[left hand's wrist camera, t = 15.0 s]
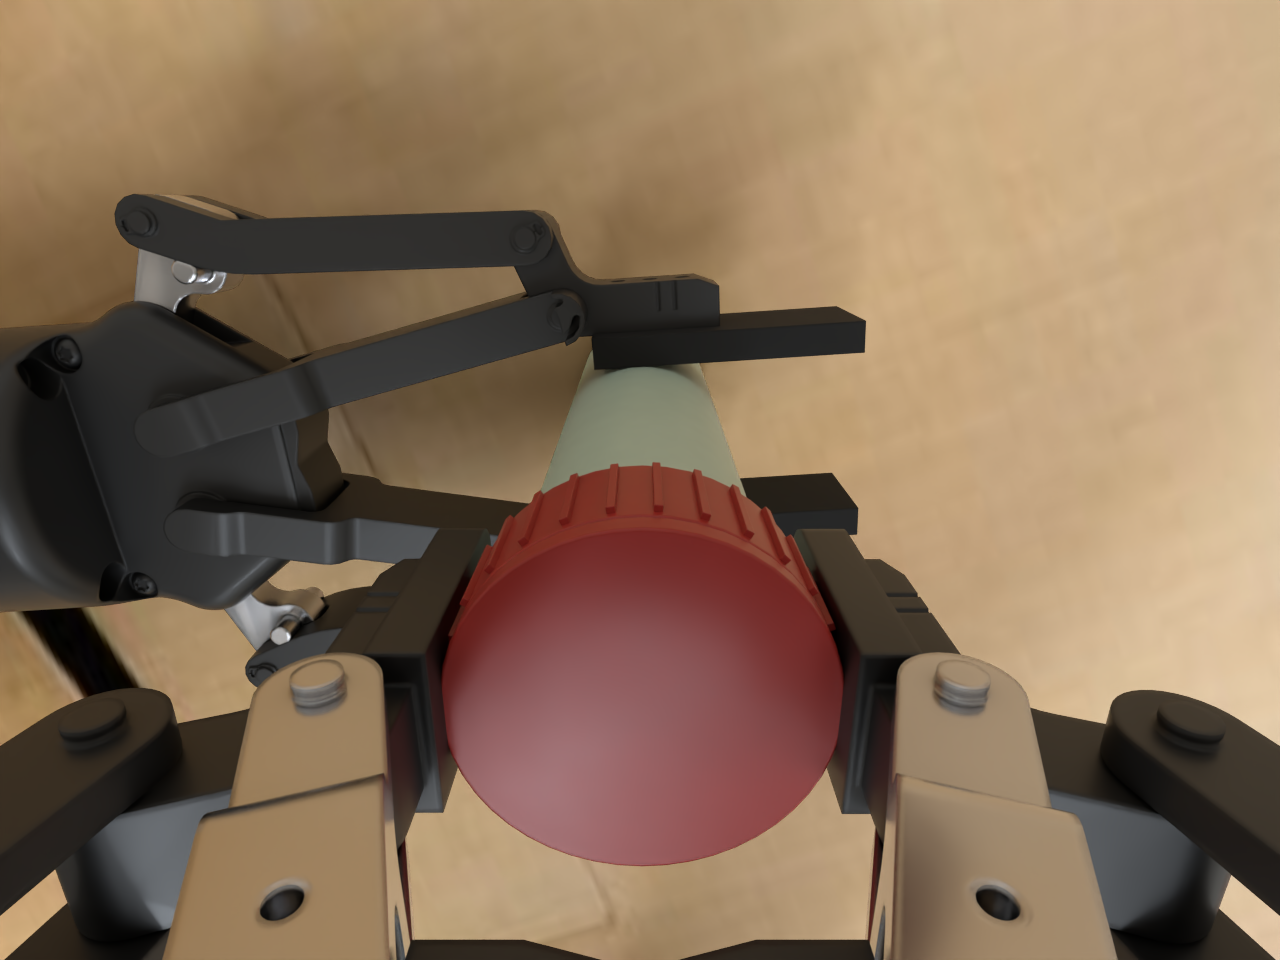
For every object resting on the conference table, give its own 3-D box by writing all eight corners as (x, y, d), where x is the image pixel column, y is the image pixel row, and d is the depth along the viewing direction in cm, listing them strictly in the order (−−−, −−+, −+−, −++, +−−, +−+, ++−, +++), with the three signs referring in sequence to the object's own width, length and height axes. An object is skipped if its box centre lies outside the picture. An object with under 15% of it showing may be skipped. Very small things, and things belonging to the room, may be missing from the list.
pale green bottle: (718, 410, 26) (844, 754, 10) (612, 453, 26) (565, 846, 10) (675, 301, 25) (735, 490, 8) (564, 349, 25) (423, 611, 9)
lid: (775, 419, 10) (810, 474, 8) (840, 720, 11) (881, 829, 9) (419, 509, 10) (367, 583, 8) (532, 786, 12) (509, 902, 10)
